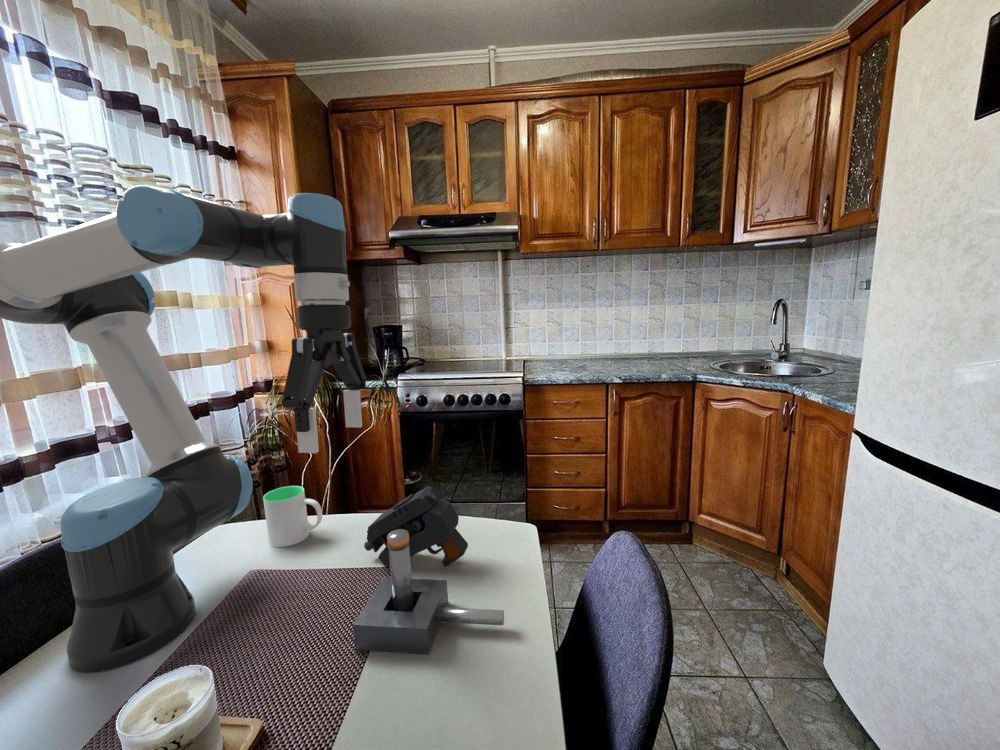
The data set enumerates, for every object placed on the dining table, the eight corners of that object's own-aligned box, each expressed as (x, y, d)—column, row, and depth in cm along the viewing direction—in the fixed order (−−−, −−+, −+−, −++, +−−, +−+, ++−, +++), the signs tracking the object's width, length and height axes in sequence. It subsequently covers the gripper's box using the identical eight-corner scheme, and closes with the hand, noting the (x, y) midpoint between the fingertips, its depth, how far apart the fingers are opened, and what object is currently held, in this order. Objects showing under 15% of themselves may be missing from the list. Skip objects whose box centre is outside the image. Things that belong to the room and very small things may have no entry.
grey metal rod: (391, 631, 65) (383, 539, 62) (399, 616, 68) (391, 528, 66) (411, 632, 64) (404, 540, 62) (418, 617, 67) (411, 529, 65)
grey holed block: (355, 649, 61) (352, 624, 61) (385, 599, 72) (383, 577, 71) (499, 659, 58) (497, 632, 58) (507, 605, 69) (506, 582, 69)
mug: (332, 527, 98) (327, 484, 97) (316, 546, 90) (311, 499, 89) (281, 529, 99) (276, 486, 97) (261, 547, 91) (255, 501, 89)
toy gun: (468, 560, 77) (425, 491, 77) (388, 599, 82) (347, 534, 82) (477, 542, 83) (436, 478, 83) (402, 580, 88) (363, 519, 88)
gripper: (296, 301, 52) (310, 467, 55) (381, 304, 76) (387, 419, 79) (240, 302, 53) (257, 465, 56) (342, 305, 77) (349, 418, 80)
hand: (333, 438), depth 68 cm, fingers open, 13 cm apart
